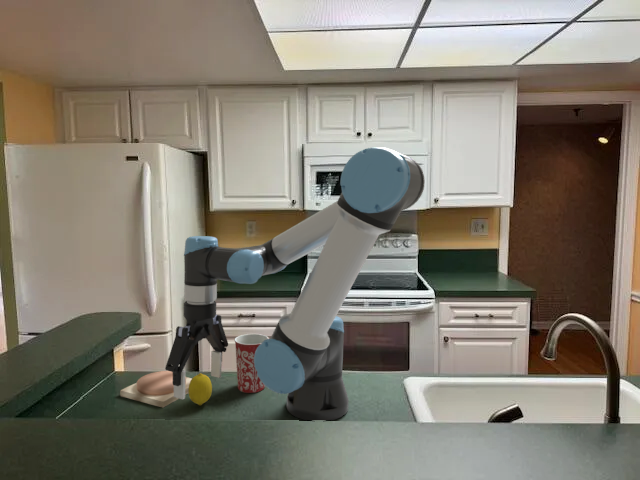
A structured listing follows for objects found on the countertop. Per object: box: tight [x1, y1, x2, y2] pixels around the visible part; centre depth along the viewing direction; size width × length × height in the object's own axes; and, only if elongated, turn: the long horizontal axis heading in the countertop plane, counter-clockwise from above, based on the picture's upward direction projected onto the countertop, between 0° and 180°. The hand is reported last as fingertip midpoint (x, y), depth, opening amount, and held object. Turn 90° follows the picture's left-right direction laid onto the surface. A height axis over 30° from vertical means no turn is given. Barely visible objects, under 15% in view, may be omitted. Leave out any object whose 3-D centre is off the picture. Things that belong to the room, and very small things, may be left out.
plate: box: [119, 370, 193, 409], centre depth 114 cm, size 14×14×3 cm
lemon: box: [188, 372, 213, 406], centre depth 106 cm, size 6×6×8 cm
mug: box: [234, 333, 270, 394], centre depth 118 cm, size 13×9×14 cm
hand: (198, 386), depth 107 cm, fingers open, 13 cm apart
